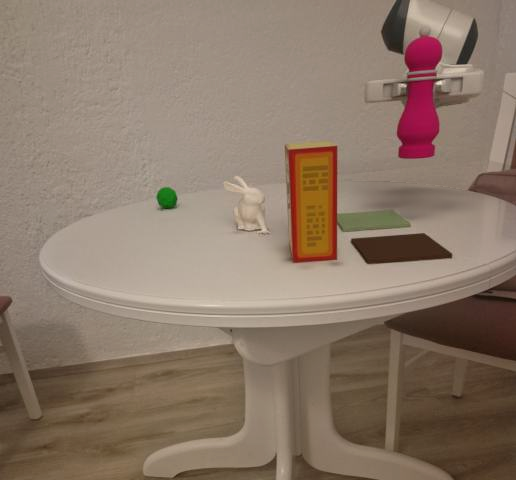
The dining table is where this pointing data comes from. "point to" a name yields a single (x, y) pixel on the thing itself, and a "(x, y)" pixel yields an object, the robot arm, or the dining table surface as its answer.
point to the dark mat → (399, 248)
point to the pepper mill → (420, 98)
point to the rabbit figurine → (248, 206)
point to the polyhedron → (167, 198)
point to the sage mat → (371, 220)
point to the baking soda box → (312, 200)
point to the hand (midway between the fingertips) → (421, 87)
